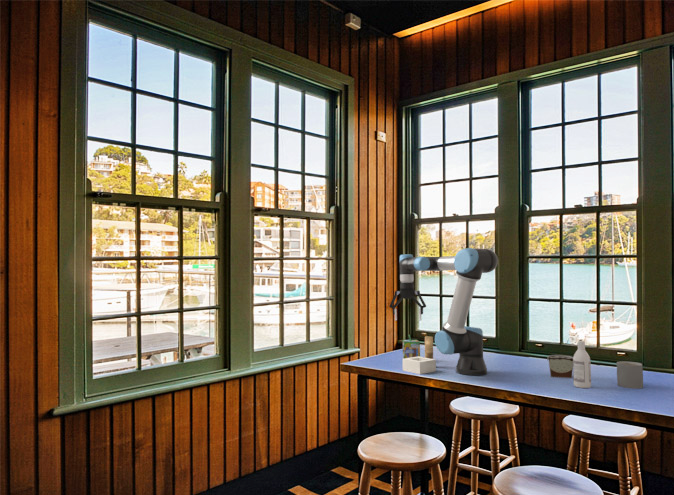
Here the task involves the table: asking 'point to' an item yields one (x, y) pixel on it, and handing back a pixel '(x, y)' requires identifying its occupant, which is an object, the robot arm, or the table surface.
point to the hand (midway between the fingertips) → (408, 320)
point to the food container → (560, 366)
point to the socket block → (419, 365)
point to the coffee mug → (630, 374)
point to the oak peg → (429, 347)
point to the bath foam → (581, 367)
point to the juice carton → (411, 348)
